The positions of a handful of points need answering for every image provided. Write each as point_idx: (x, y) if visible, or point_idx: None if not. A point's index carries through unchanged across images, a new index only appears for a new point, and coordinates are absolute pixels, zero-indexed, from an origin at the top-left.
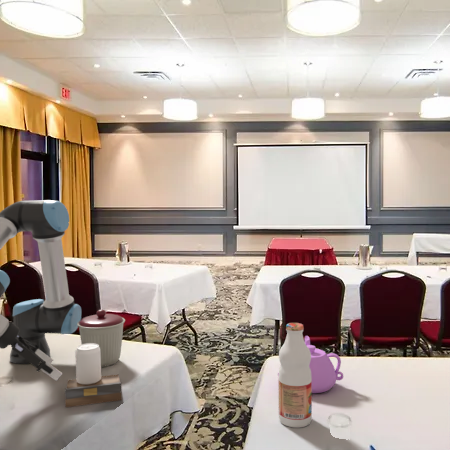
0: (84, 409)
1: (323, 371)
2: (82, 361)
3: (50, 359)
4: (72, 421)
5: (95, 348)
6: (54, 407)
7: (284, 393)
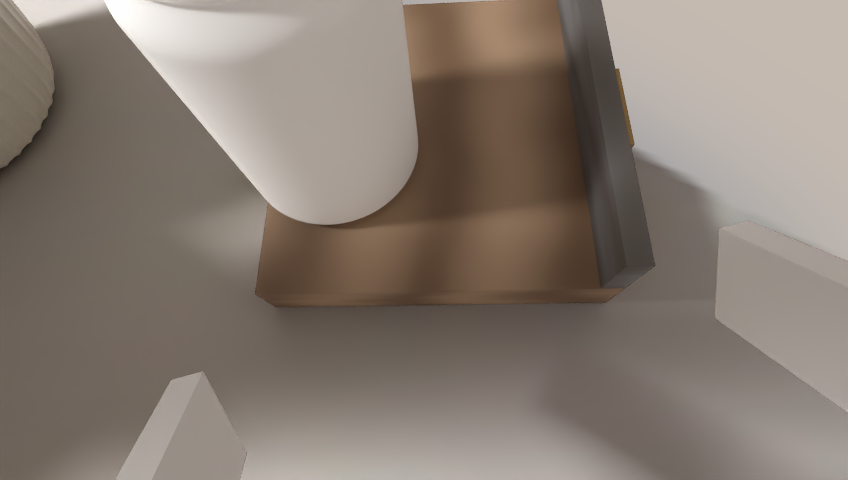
0: (652, 195)
1: None
2: (386, 55)
3: (196, 413)
4: None
5: None
6: (593, 375)
7: None
